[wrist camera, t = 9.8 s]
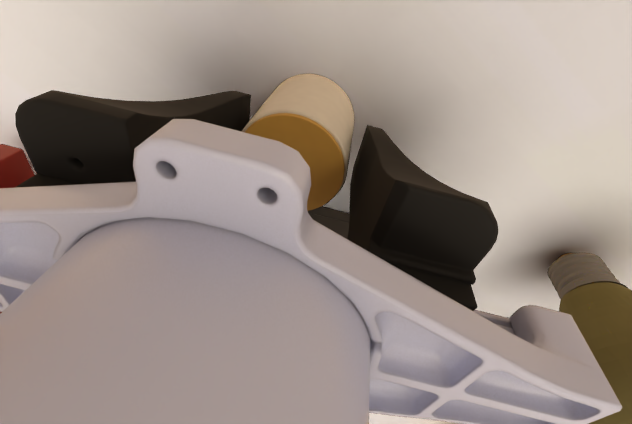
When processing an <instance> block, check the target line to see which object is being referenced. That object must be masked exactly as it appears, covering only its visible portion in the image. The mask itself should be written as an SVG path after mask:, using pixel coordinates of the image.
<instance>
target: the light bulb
mask: <svg viewBox="0 0 632 424" xmlns="http://www.w3.org/2000/svg"><path fill="white" fill-rule="evenodd" d="M548 276H549V278H550V280H551V281H552V284H553V285H554V287H555V289H556V291H557V292H558V295H559V297H560V299H561V302H560V307H559V312H563V313H567V314H570V315H571V316H572V317H573V319H574V321H575V323H576V325H577V326H578V328H579V330H580V332H581V334H582V335H583V337H584V339H585V341H586V343H587V344H588V346H589V348H590V350H591V351H592V353H593V355H594V357H595V359H596V360H597V362H598V364H599V366H600V368H601V369H602V371H603V373H604V375H605V377H606V378H607V380H608V382H609V384H610V386H611V387H612V389H613V391H614V393H615V395H616V396H617V398H618V400H619V402H620V403H621V405H622V409H621V411H619V412H616V413H614V414H611V415H609V416H606V417H604V418H601V419H599V420H596V421H594V422H591V423H589V424H632V290H630V289H628V288H627V287H626V286H625V285H623V284H621V283H620V282H619V281H618V280H617V279H615V276H614V275H613V274H612V273H611V271H610V270H609V268H608V267H607V266H606V264H605V263H604V262H603V260H602V259H601V258H600V257H598V256H597V255H594V254H591V253H567V254H564V255H562V256H560V257H559V258H558V259H557V260H556V261H555V262H553V263H552V264H551V265H550V267H549V268H548Z"/></svg>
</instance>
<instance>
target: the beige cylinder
mask: <svg viewBox="0 0 632 424" xmlns="http://www.w3.org/2000/svg"><path fill="white" fill-rule="evenodd" d="M353 128H354V111H353V108H352V104H351V102H350V100H349V98H348V96H347V95H346V93H345V92H344V91H343V89H342V88H340V87H339V86H338V85H337V84H336V83H335V82H333V81H332V80H330V79H328V78H326V77H323V76H320V75H316V74H300V75H295V76H293V77H290V78H288V79H286V80H285V81H283V82H282V83H281V84H280V85H279V86H278V87H277V88H276V89H275V90H274V91H273V93H272V94H271V95H270V96H269V98H268V99H267V100H266V101H265V103H264V104H263V105H262V106H261V107H260V109H259V110H258V111H257V112H256V114H255V115H254V116H253V117H252V118H251V120H250V121H249V122H248V123H247V125H246V126H245V127H244V129H243V130H242V132H245V133H249V134H253V135H257V136H260V137H264V138H268V139H272V140H276V141H280V142H281V143H283V144H285V145H287V146H289V147H291V148H293V149H295V150H297V151H298V152H299V153H300V154H301V156H302V157H303V159H304V160H305V161H306V163H307V164H308V165H309V167H310V175H311V187H310V192H309V196H308V200H307V211H309V210H313V209H316V208H319V207H321V206H323V205H324V204H326V203H328V202H329V201H330V200H331V199H332V198H333V197H335V196H336V194H337V193H338V192H339V191H340V190H341V188H342V187H343V184H344V182H345V180H346V176H347V171H348V164H349V157H350V149H351V142H352V135H353Z"/></svg>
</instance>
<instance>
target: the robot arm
mask: <svg viewBox="0 0 632 424" xmlns="http://www.w3.org/2000/svg"><path fill="white" fill-rule="evenodd" d="M250 101H251V95H250V94H246V93H242V92H238V91H228V92H222V93H216V94H211V95H206V96H201V97H195V98H189V99H183V100H173V101H156V102H150V101H122V100H111V99H102V98H94V97H88V96H82V95H76V94H70V93H65V92H60V91H54V90H52V91H49V92H46V93H44V94H41V95H39V96H36V97H33V98H31V99H28V100H26V101H25V102H23V103H22V104H21V105H19V107H18V109H17V112H16V127H17V130H18V133H19V136H20V139H21V141H22V143H23V145H24V147H25V149H26V152H27V154H28V156H29V158H30V160H31V162H32V164H33V167H34V169H35V171H36V173H37V174H36V175H34V176H33V177H31V178H29V179H28V180H26V181H24V182H23V183H21V184H19V185H18V186H16V187H15V188H0V311H1V312H2V313H1V314H0V424H369V413H375V414H383V415H392V416H401V417H410V418H418V419H427V420H436V421H445V422H453V423H461V424H589V423H591V422H594V421H596V420H599V419H601V418H604V417H606V416H609V415H611V414H614V413H616V412H619V411H621V409H622V405H621V403H620V402H619V400H618V398H617V396H616V395H615V393H614V391H613V389H612V387H611V386H610V384H609V382H608V380H607V378H606V377H605V375H604V373H603V371H602V369H601V368H600V366H599V364H598V362H597V360H596V359H595V357H594V355H593V353H592V351H591V350H590V348H589V346H588V344H587V343H586V341H585V339H584V337H583V335H582V334H581V332H580V330H579V328H578V326H577V325H576V323H575V321H574V319H573V317H572V316H571V315H570V314H567V313H563V312H559V311H555V310H551V309H547V308H543V307H539V306H534V305H528V306H523V307H521V308H519V309H518V310H517V311H516V312H515V313H514V314H513V315H512V316H511V317H510V318H505V317H501V316H497V315H493V314H490V313H486V312H482V311H478V310H475V309H476V308H477V304H476V301H475V297H474V294H473V290H472V287H471V284H472V285H473V284H474V283H475V280H476V278H475V275H474V272H473V270H474V268H475V267H476V266H477V265H478V264H479V263H480V261H481V260H482V259H483V258H484V257H485V255H486V254H487V253H488V252H489V251H490V249H491V248H492V246H493V245H494V243H495V242H496V240H497V235H498V226H497V221H496V219H495V217H494V215H493V213H492V210H491V208H490V206H489V204H488V202H485V201H482V200H480V199H477V198H474V197H472V196H469V195H466V194H464V193H461V192H459V191H457V190H455V189H453V188H451V187H449V186H447V185H445V184H443V183H441V182H439V181H438V180H436V179H435V178H433V177H431V176H430V175H428V174H427V173H425V172H424V171H422V170H421V169H420V168H419V167H417V166H416V165H415V164H414V163H413V162H411V161H410V160H409V159H408V158H407V157H406V156H405V155H404V154H403V153H402V152H401V151H400V150H399V148H398V147H397V146H396V145H395V144H394V143H393V141H392V140H391V139H390V138H389V136H388V135H387V134H386V133H385V132H384V130H382V129H380V128H376V127H373V126H369V125H367V128H366V131H365V134H364V137H363V140H362V143H361V146H360V149H359V152H358V155H357V158H356V161H355V164H354V167H353V173H352V178H351V184H350V217H349V231H348V238H347V239H346V238H344V237H342V236H341V235H339V234H337V233H335V232H334V231H332V230H330V229H328V228H327V227H325V226H323V225H321V224H320V223H318V222H316V221H314V220H313V219H312V218H311V216H310V215H309V214H308V211H307V200H308V196H309V192H310V187H311V175H310V167H309V165H308V164H307V163H306V161H305V160H304V159H303V157H302V156H301V154H300V153H299V152H298V151H297V150H295V149H293V148H291V147H289V146H287V145H285V144H283V143H281V142H280V141H276V140H272V139H268V138H264V137H260V136H257V135H253V134H249V133H245V132H242V130H243V129H244V127H245V126H246V125H247V123H248V122H249V117H250Z"/></svg>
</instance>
